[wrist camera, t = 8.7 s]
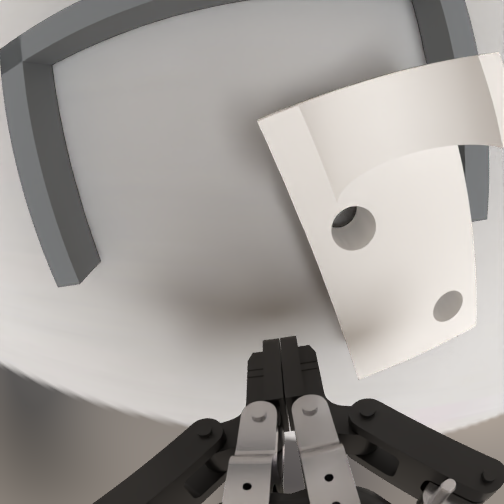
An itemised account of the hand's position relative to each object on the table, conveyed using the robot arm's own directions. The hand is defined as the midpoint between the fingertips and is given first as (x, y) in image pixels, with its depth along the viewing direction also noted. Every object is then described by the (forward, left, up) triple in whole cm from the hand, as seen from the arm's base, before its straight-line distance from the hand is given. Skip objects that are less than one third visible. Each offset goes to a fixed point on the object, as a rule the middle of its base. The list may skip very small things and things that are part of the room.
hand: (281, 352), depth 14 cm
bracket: (-4, +6, -4) cm, 8 cm away
